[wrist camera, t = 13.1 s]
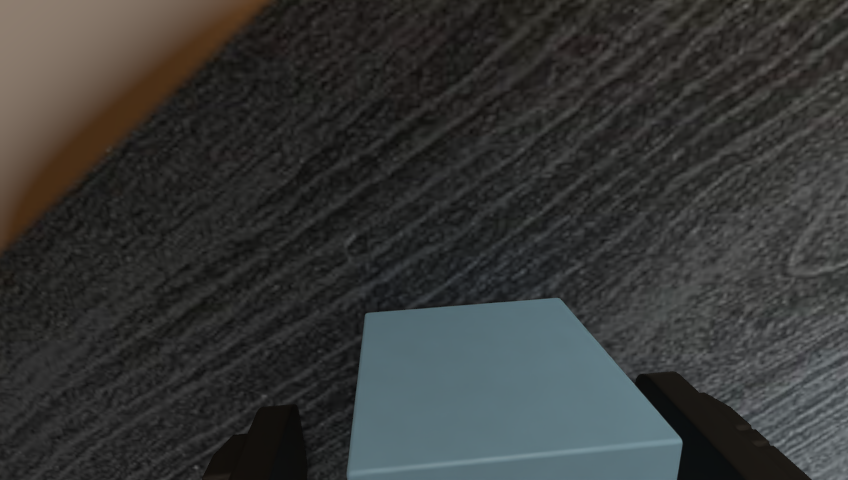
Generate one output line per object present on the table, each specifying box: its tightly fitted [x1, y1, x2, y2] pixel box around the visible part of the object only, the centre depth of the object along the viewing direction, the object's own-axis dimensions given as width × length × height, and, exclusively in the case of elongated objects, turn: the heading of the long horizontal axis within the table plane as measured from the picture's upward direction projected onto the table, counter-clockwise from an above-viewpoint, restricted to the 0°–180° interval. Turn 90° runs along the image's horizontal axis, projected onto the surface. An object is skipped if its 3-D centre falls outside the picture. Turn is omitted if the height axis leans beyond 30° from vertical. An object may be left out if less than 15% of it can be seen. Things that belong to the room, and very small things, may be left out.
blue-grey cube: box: [346, 298, 683, 480], centre depth 9 cm, size 5×5×5 cm
